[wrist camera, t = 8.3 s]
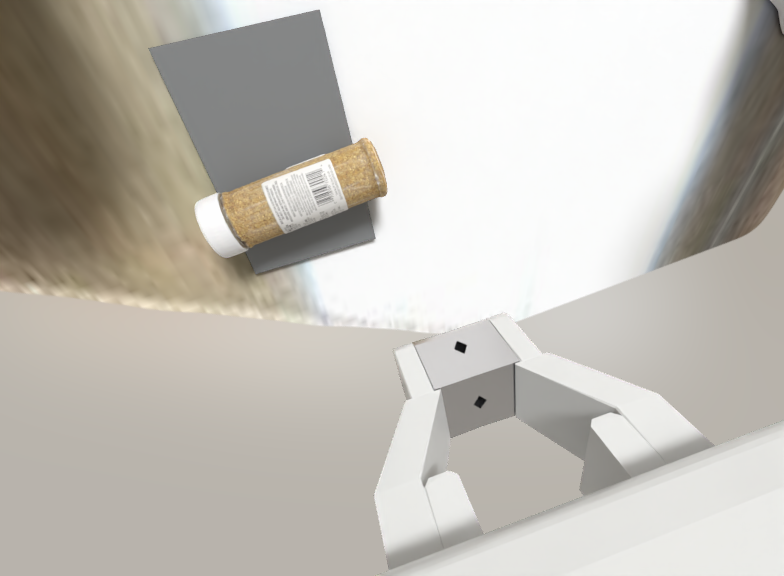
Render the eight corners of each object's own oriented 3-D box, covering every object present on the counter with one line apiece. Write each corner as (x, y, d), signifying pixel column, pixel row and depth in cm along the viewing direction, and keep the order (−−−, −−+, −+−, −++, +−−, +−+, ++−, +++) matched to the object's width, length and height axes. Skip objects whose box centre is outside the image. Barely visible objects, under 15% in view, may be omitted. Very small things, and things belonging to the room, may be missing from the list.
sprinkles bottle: (363, 132, 29) (198, 194, 29) (376, 141, 26) (185, 213, 25) (380, 187, 32) (229, 245, 31) (394, 203, 28) (222, 270, 27)
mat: (318, 10, 25) (319, 9, 25) (374, 236, 35) (375, 238, 34) (150, 48, 24) (148, 48, 23) (256, 271, 33) (255, 274, 33)
